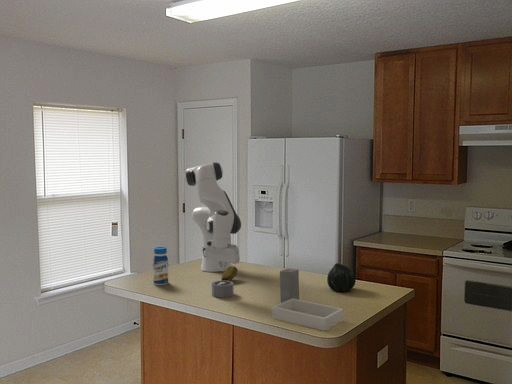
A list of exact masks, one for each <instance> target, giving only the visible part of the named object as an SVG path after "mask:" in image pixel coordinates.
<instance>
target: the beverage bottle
mask: <svg viewBox="0 0 512 384" xmlns="http://www.w3.org/2000/svg"><path fill="white" fill-rule="evenodd" d="M153 249H154V250H153V252H154V253H153V254H154V257H153V259H152V261H153V263H152V267H153V284H154V286H155V285H156V286H164V285H168V284H169V262H168V261H169V257H168V256H167V252H168V251H167V250H168V249H167V247H165V246H156V247H154V248H153Z"/></svg>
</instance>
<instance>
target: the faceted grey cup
mask: <svg viewBox="0 0 512 384" xmlns="http://www.w3.org/2000/svg"><path fill="white" fill-rule="evenodd" d="M219 282H227V283H229V284H228V285H217V283H219ZM234 294H235V293H234V281H232V280H231V281H223V280H216V281H212V283H211V296H212V297H213V298H219V299H226V298H227V299H228V298H231V297H234Z"/></svg>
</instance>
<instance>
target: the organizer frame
mask: <svg viewBox="0 0 512 384" xmlns="http://www.w3.org/2000/svg"><path fill="white" fill-rule="evenodd" d="M271 308H272V310H271V311H272V313H271V314H272V319H274V320H279V321H283V322H287V323H291V324H295V325H298V326H304V327H306V328H311V329H315V330H318V331H319V330H320V331H325V330H326V331H327V330H329V329H331V328H333V327H334V326H336V325H337V323H338V322H340V321H341V320H343V321H344V308H341V307H337V306H336V307H335V306H331V305H326V304H322V303H318V302H317V303H316V302H312V301H308V300H302V299H299V300H298V299H293V298H292V299H290V300H287V301H285V302H283V303H281V302H280V303H278V304H276V305H273V306H272V307H271ZM341 322H342V321H341ZM341 322H340V323H341ZM335 324H336V325H335ZM338 324H339V323H338ZM333 325H334V326H333ZM332 326H333V327H332ZM330 327H331V328H330ZM328 328H329V329H328Z"/></svg>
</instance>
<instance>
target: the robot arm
mask: <svg viewBox="0 0 512 384" xmlns="http://www.w3.org/2000/svg"><path fill="white" fill-rule="evenodd" d="M223 173H224V169H223V167H222V165H221V164H220V163H219V162H212V163H204V164H200V165H196V166H193V167H188V168H187V169H186V170H184V180H185V182H186V183H187V185H188V186H190V187H194V186H196V191H197V194H198V200H199V202H200V203H201V204H202V205H204V206H198V207H195V208H194V210H192V214H191V218H192V220H193V222H194V223H195V224H196V225H197V226H198V228H199V229H200V230H201V234H202V245H203V246H202V258H201V259H202V260H201V265H200V270H201V271H202V272H208V273H212V272H215V273H216V272H225V271H226V269H227V268H228V267H230V266H234V267H235V265H236V264H239V262H240V251H239V246H238V245H237V244H232V235H234V234H237V233H238V232H239V231H240V230H241V228H242V222H241V218H240V217H239V216H238V214H237V213H236V210H235V208H234V206H233V204H232V202H231V200H230V198H229V195H228V193H227V192H226V190H224V189H222V188H221V187H220V186H219V184H218V182H217V181H220V180H222V178H223Z"/></svg>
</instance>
